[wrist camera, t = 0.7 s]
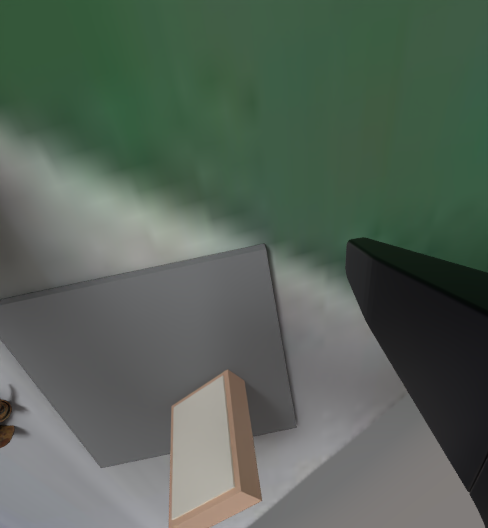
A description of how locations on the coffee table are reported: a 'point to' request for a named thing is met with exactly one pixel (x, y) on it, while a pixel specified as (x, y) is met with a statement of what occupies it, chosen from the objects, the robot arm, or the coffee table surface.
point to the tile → (212, 455)
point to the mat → (152, 349)
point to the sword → (4, 433)
